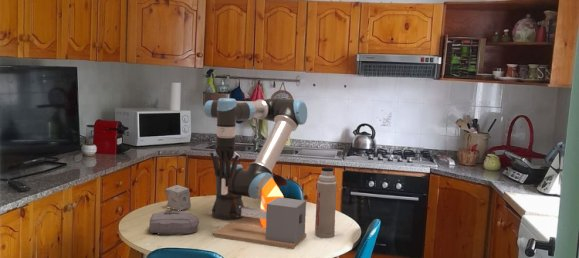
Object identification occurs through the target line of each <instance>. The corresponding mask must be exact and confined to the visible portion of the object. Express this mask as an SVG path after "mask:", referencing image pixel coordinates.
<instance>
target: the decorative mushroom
mask: <svg viewBox="0 0 579 258" xmlns="http://www.w3.org/2000/svg"><path fill="white" fill-rule="evenodd" d="M273 178H274V182H275V183H276V185H277V186H278V188H279V189H280V187H284V186H287V185H288V182H287V179H285V178H284V177H283V176H281V175H279V174H273Z"/></svg>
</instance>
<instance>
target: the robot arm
mask: <svg viewBox="0 0 579 258" xmlns="http://www.w3.org/2000/svg"><path fill="white" fill-rule="evenodd" d="M203 113H204V115H205V116H206V117H208V118H212V119H216V136H217V137H216V148H215V150H214V151H212V152H210V153H209V155H210V157H211V159H212V164H213V170H214V175H215V177H216V179H215V201H214V203H213V205H212V209H211V217H213V218H214V219H219V220H227V221H228V220H239V219H242V218H244V217H245V216H243V217H236V215H235V209H236V206H237V205H238V204H239V205H244V202H243V198H242V197H247V198H251V199H259V200H261V196H262V189H263V188H264V186H265V185H266V184H267V182H268V181H269V180H270V179H271V177H272V179H273V180H274V178H273V176H274V173H273V169H274V167H275V165H276V164H277V162H278V159H279V158H280V155H281V153H282V151H283V149H284V147H285V145H286V144H287V141H288V140H289V137H290V136H291V133H292V132H294V131H296V130H297V129H298V126H299V125H300V126H301V125H305V124H306V123H307V119H308V108H307V104H306V102H305V101H303V100H301V99H296V98H295V99H293V98H292V99H290V98H277V97H273V98H263V99H256V100H254V101H253V100H252V101H247V100H245V101H243V100H236V99H235V98H227V97H223V98H222V97H221V98H218V100H215V99H214V100H212V99H211V100H207V101H206V102H205V103H204V106H203ZM253 118H255V119H256V120H263V121H264V120H265V121H270V122H273V123H274V125H273V127H272V128H271V131H270V132H269V134H268V135H267V137H266V138H267V139H266V140H265V142H264V144H263V145H262V147H261V149H260V151H259V153H258V154H257V157H256V159H255V160H254V161H253V162H250V163H249V165H248V167H247V169H244V167H243V165H242V164H238V163H239V160H240V158H241V157H242V156H241V154H238V153H237V152H236V148H235V147H236V138H235V136H236V122H242V121H249V120H252V119H253ZM232 158H233V160H232ZM231 163H232V164H231Z"/></svg>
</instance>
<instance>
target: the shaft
mask: <svg viewBox="0 0 579 258" xmlns="http://www.w3.org/2000/svg"><path fill="white" fill-rule="evenodd" d="M235 215H236V217H243V216H244V217H247V218H252V219H253V218H255V219H259V220H260V219H266V210H265V209H261V208H256V207H248V206H245V205H244V204H243V205H239V204H238V205H237V206H236V209H235ZM244 217H243V218H244Z"/></svg>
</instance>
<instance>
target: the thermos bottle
mask: <svg viewBox="0 0 579 258" xmlns="http://www.w3.org/2000/svg"><path fill="white" fill-rule="evenodd" d="M337 183H338V182H337V181H336V176H335V175H334V168H333V167H328V166H327V167H326V166H325V167H324V166H323V167H322V168H321V173H320V174H319V176H318V180H317V181H316V197H315V198H316V203H315V205H316V206H315V224H314V228H315V229H314V235H315V236H316V237H318V238H322V239H330V238H333V237H335V229H336V227H335V225H336V209H337V208H336V206H337Z"/></svg>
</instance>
